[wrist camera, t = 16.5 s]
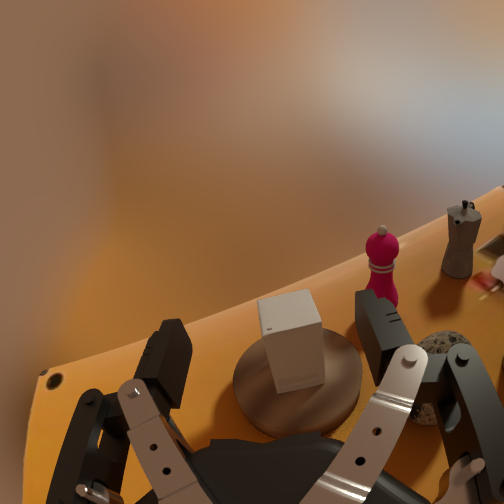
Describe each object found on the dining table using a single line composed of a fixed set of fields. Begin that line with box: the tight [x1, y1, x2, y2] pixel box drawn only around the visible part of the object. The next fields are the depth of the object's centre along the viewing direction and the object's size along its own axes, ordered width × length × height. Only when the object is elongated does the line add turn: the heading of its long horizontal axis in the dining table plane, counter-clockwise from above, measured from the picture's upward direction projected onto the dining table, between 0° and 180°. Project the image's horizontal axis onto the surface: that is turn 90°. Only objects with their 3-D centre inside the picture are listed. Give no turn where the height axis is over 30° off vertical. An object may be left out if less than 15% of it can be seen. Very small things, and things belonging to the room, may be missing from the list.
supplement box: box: [257, 289, 326, 394], centre depth 38 cm, size 7×7×13 cm
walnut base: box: [233, 328, 362, 439], centre depth 42 cm, size 20×20×5 cm
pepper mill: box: [365, 225, 399, 308], centre depth 48 cm, size 7×7×20 cm
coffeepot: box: [442, 200, 482, 279], centre depth 54 cm, size 15×9×18 cm, turn 123°
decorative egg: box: [408, 331, 473, 425], centre depth 29 cm, size 12×12×15 cm
